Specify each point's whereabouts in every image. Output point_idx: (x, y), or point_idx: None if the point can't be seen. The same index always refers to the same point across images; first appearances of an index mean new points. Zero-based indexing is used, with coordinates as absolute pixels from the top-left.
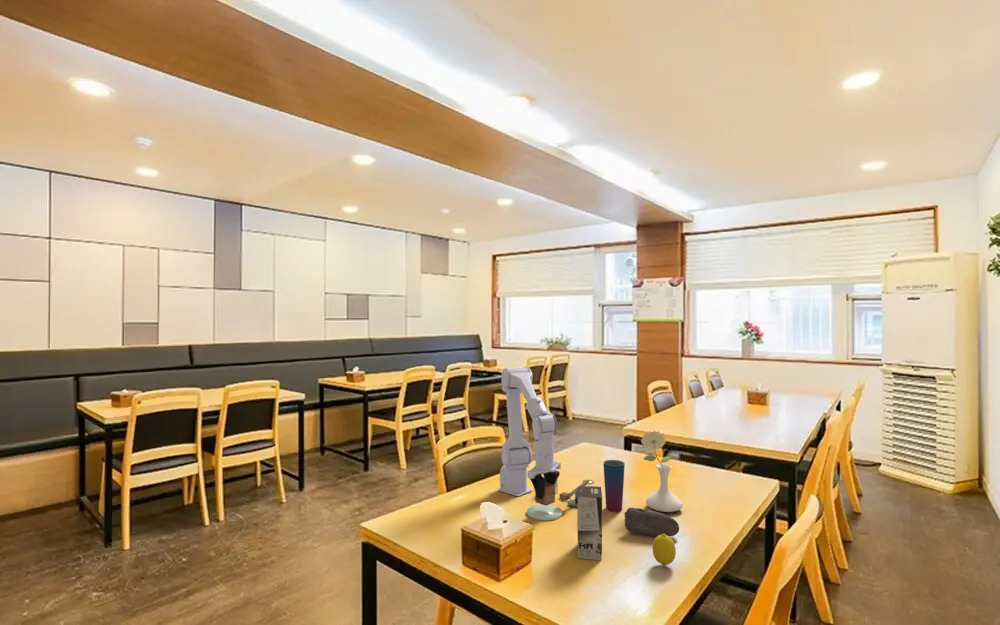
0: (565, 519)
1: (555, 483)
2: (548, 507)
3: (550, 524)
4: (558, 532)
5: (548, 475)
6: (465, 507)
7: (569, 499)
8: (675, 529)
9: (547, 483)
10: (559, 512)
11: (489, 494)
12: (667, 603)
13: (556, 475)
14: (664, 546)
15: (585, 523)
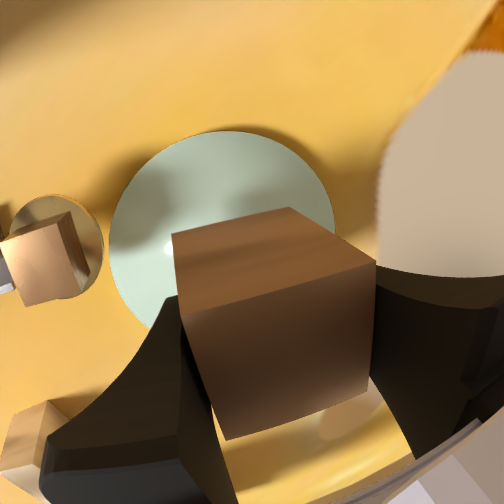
0: (175, 96)
1: (15, 451)
2: (171, 282)
3: (307, 99)
4: (341, 7)
5: (221, 483)
6: None
7: (28, 218)
8: None
9: (239, 388)
10: (164, 169)
11: (270, 481)
12: None
13: (153, 429)
14: None
15: None
